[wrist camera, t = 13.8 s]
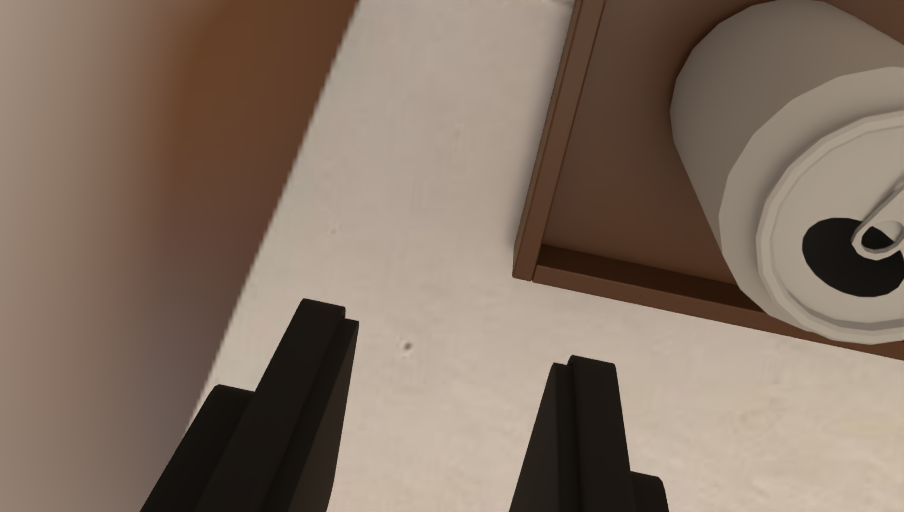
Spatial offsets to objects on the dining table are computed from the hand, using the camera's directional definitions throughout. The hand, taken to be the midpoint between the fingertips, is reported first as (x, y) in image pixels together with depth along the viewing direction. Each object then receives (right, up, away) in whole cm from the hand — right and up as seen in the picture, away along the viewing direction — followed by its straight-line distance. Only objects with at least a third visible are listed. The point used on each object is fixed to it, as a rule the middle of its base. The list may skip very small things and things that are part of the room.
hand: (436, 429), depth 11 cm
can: (+12, +8, +20) cm, 25 cm away
